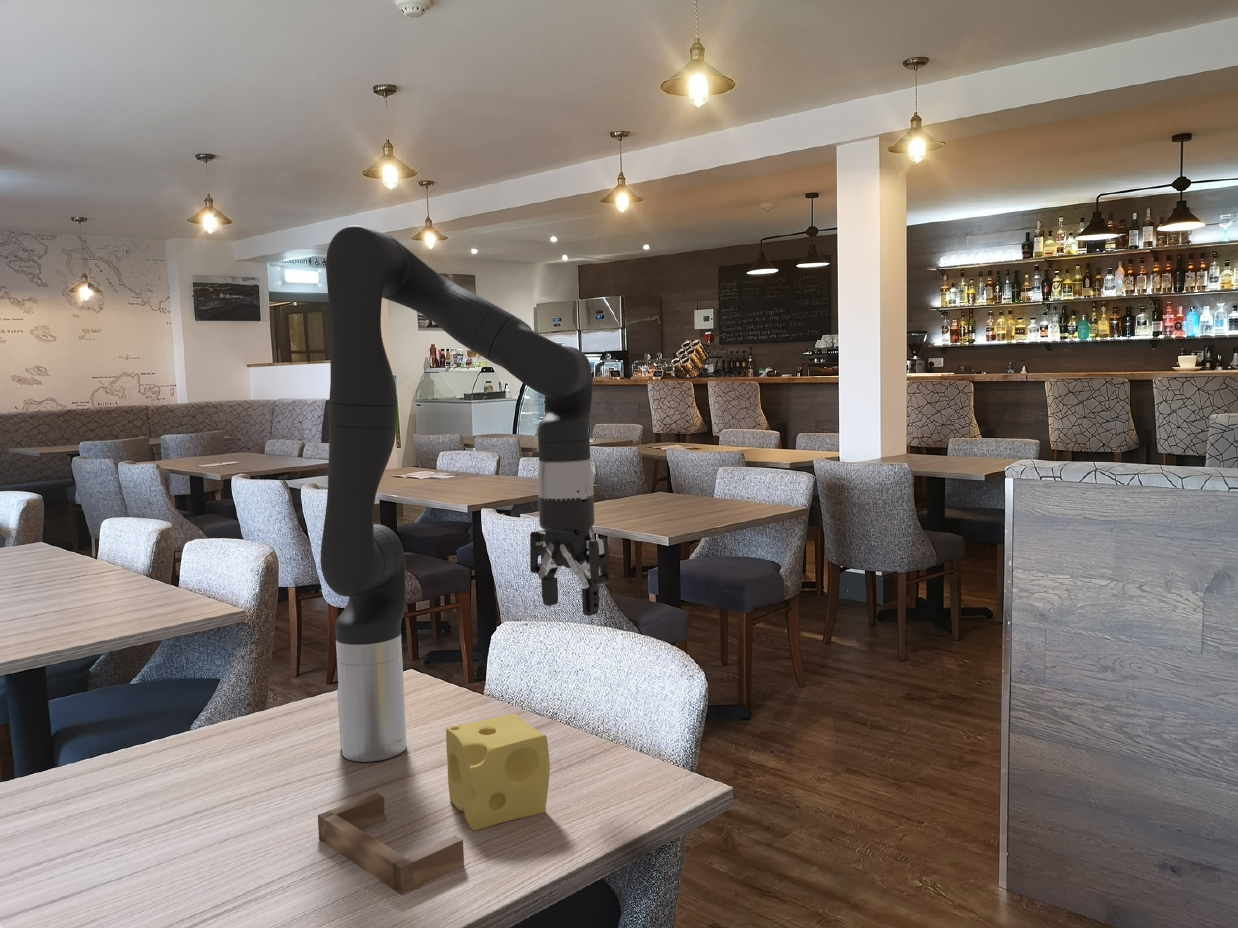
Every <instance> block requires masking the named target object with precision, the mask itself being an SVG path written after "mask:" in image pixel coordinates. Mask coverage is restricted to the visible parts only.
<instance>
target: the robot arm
mask: <svg viewBox="0 0 1238 928" xmlns="http://www.w3.org/2000/svg"><path fill="white" fill-rule="evenodd" d="M325 271H326V272H325V274H326V287H327V295H328V296H327V297H328V309H329V310H328V311H329V319H330V367H329V368H330V372H329V373H330V378H329V379H330V381H329V382H330V384H329V385H330V387H329V401H328V402H329V403H328V405H329V406H328V436H329V437H328V440H329V441H328V442H329V443H328V471H327V494H326V495H327V496H326V505H325V514H324V521H323V522H324V523H323V529H322V535H321V536H322V537H321V543H320V544H321V547H320V570H321V572H322V577H323V578H324V579H323V580H324V581H325V583H326V584H327V586H328V587H329V589H331V591H333V592H334V593H335V594H337V595H339V596H341V597H346V598H347V597H348V601H347V604H346V606H345V608H344V609H343V610H342V612H341V613H340V614H339V616H338V617H337V619H336V621H335V625H334V627H335V628H334V629H335V647H336V649H335V650H336V663H337V665H336V666H337V679H338V680H337V682H338V683H337V684H338V686H337V688H336V689H337V706H338V707H337V709H338V726H339V741H340V742H339V743H340V744H339V745H340V749H341V754H342V757H344V759H346V760H349V761H353V762H362V763H366V762H368V763H370V762H376V761H378V762H379V761H382V760H383V761H384V760H387V759H390V758H393V757H396V756H398V755H400V754H401V753H403V752H404V751H405V750H406V749H407V744H408V743H407V730H406V729H407V728H406V727H407V726H406V705H405V687H404V683H405V682H404V669H403V668H404V665H403V650H402V633H401V632H402V629H401V628H402V627H401V626H402V621H403V620H402V619H403V617H404V614H405V610H406V561H405V558H406V557H405V553H404V548H403V544H402V543H401V541H400V538H399V536H398V535H397V534H396V533H395V531H393V530H392V528H389V527H387V526H386V525H383V524H377V523H376V524H374V518H375V516H374V515H375V501H376V497H377V493H378V488H379V486H380V483H381V480H382V478H383V475H384V473H385V470H386V468H387V465H388V463H389V460H390V458H391V456H392V452H393V450H394V445H395V442H396V436H397V422H398V421H397V418H398V416H397V413H398V406H397V405H398V396H397V395H398V393H397V386H396V381H395V379H394V374H393V370H392V367H391V364H390V361H389V359H388V355H387V352H386V349H385V346H384V345H385V344H384V340H383V336H382V335H383V334H382V321H381V320H382V302H383V299H384V300H388V301H391V302H393V303H397V304H399V305H402V306H403V307H404V306H405V307H406V308H409V309H411V310H413V311H415V312H417V313H418V314H421V315H422V316H424V317H426V318H427V319H428V320H430V321H431V322H433V323H434V324H435V325H437V326H438V327H440V329H441V330H442V331H444V332H445V333H446V334H447V335H448V336H450V337H451V338H453V340H455V341H456V342H457V343H459V344H461V345H462V346H463V347H466V348H467V349H469V350H470V351H472V352H474V353H475V354H478V355H479V356H480V357H483V358H484V359H485V360H487V361H488V362H491V363H493V364H495V365H497V366H498V367H501V368H503V369H504V370H506V371H507V372H508V373H509V374H511V375H512V376H513V377H514V378H516V379H517V380H519V381H520V382H521V383H522V384H523V385H525V386H527V387H528V388H530V389H532V390H533V391H534V392H536V393H538V394H540V395H542V396H544V414H543V418H542V419H541V421H540V422H539V425H538V431H537V442H538V443H537V446H538V448H537V449H538V471H537V489H538V490H537V491H538V513H539V514H538V516H539V518H538V520H539V521H538V522H539V526H540V528H541V530H535V531H531V532H530V535H529V539H530V540H529V544H530V547H529V550H530V551H529V553H530V554H529V559H530V560H529V563H530V564H529V566H530V572H531V573H532V574H537V575H538V579H540V582H541V598H542V603H543V604H542V605H543V606H546V607H547V606H548V607H551V606H553V605H554V606H555V605H557V604H558V603H559V590H558V589H559V588H558V587H559V586H558V585H559V584H558V582H559V581H558V577H557V576H558V573H559V571H560V569H561V568H562V567H565V568H566V569H571V572H572V573H573V575H575V576H577V577H578V579H579V581H580V583H581V585H582V587H583V588H581V598H582V599H581V600H582V602H581V603H582V614H583V615H584V616H587V617H589V616H594V615H597V614H598V612H599V610H600V587H601V586H603V585H605V584H610V582H611V568H610V557H609V556H610V555H609V554H610V553H609V543H608V540H607V539H606V538H599V539H592V537H591V533H590V530H591V528H592V527H593V526H594V525H595V501H594V500H595V499H594V497H595V496H594V495H595V494H594V475H593V470H592V463H591V461H592V460H591V441H590V430H589V429H590V428H589V426H590V424H589V422H590V417H591V408H592V400H593V399H592V398H593V384H594V383H593V382H594V381H593V371H592V365H591V362H590V360H589V359H588V356H586V354H585V353H584V352H583V351H581V350H580V349H579V348H576V347H572V346H564V345H561V344H559V343H557V342H555V341H553V340H551V339H548V337H545V336H544V335H542V334H540V333H538V332H536V331H535V330H533V329H532V328H531V326H530V325H529V324H527V323H526V322H525V321H523V320H522V319H521V318H519V317H517V316H515V315H514V314H512V313H510V312H508V311H507V310H505V309H503V308H501V307H500V306H498V305H496V304H495V303H492V302H490V301H488V300H487V299H485V298H483V297H482V296H479V295H477V294H475V293H474V292H471V291H470V290H467V289H466V288H463V287H462V286H460V285H458V284H456V283H454V282H453V281H452V280H450V279H448V278H446V276H444V275H442V274H441V273H439V272H438V271H436V270H435V269H433V268H432V267H430V266H429V265H428V264H427V263H425V262H424V261H423V260H422V259H420V258H419V257H418V256H417V255H415V254H414V253H413V252H412V251H411V250H410V249H408V248H407V247H406V246H405V245H403V244H402V243H401V242H400V241H398V239H396V238H395V237H394V236H392V235H390V234H388V233H387V232H383V231H379V230H376V229H373V228H369V227H366V226H361V225H349V226H345V227H343V228H342V229H340V230H339V231H337V233H335V235H334V236H333V237H332V239H331V240H330V243H328V248H327V250H326V258H325ZM539 557H540V562H539ZM600 570H601V574H600V572H599V571H600ZM587 574H588V575H589V577H590V578H589V577H588V575H587Z"/></svg>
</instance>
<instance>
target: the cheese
mask: <svg viewBox="0 0 1238 928" xmlns="http://www.w3.org/2000/svg"><path fill="white" fill-rule="evenodd" d="M445 731H446V732H445V733H446V734H445V736H446V739H445V740H446V742H445V744H446V758H447V759H446V761H447V762H446V763H447V783H448V795H449V800H450V801H451V802H452V804H453V805H454V806H455V808H457V809H458V811H459V812H462V813H464V817H465V818H464V819H465V821H466V822H467V824H468V825H469V828H470V829H471V830H472V832H475V831H480V830H483V829H486V828H489V827H492V826H495V825H498V824H502V823H507V822H510V821H515V820H518V819H523V818H527V817H532V816H536V815H537V816H538V815H540V814H544V813H546V812H547V800H548V792H549V784H550V764H551V763H550V751H549V743H548V738H547V735H546V734H544V733H543V732H541V731H539V730H538V729H536V728H534V727H533V726H531V725H530V724H529V723H527V722H526V721H524V720H523V719H522V718H521V717H520V716H519V715H518V714H517V713H511V714H505V715H501V716H497V717H494V718H490V719H489V718H488V719H484V720H480V721H475V722H469V723H465V724H460V725H459V724H458V725H453V726H447V727H446V730H445Z"/></svg>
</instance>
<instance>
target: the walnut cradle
mask: <svg viewBox="0 0 1238 928" xmlns="http://www.w3.org/2000/svg"><path fill="white" fill-rule="evenodd" d="M384 796H385V795H383V794H381V793H379V792H375V793H372V794H370V795H369V794H368V795H367V796H364V797H362V798H359V799H356V800H354V801H351V802H348V803H345V804H343V805H340V806H338V807H335V808H332V809H330V810H327V811H325V812H322V813H320V814H317V828H318V840H320V841H321V842H323V844H326V845H327V846H329V848H331V849H333V850H334V851H336V852H338V854H340V855H342V856H343V857H345V859H348V860H349V861H351V862H352V863H353V864H355V865H357V866H358V867H360V868H361V869H362V870H364V871H366V872H367V873H369V874H370V875H372V876H373V877H374V878H376V879H378V880H379V881H380V882H382V883H383V884H385V885H387V886H388V887H389V888H391V889H392V890H394V891H395V892H397V893H398V894H400V895H401V896H403V895H405V894H406V893H409V892H411V891H413V890H416V889H418V888H419V887H423V886H424V885H426V884H429V883H430V882H432V881H435V880H436V879H438V878H440V877H443V876H445V875H447V874H448V873H449V874H450V873H452V872H454V871H456V870H457V869H460V868H461V867H464V866H465V854H464V839H463V838H461V837H459V836H457V835H452V836H450V837H448V838H445V839H443V840H442V841H439V842H437V843H434V844H432V845H429V846H428V847H425V848H423V849H421V850H418V851H416V852H414V853H412V854H410V855H407V856H403V855H402V854H401V853H398V852H397V851H395V850H393V848H390V847H389V846H387V845H386V844H384V843H382V842H381V841H379V840H378V839H376V838H374V837H373V836H371V835H370V834H368V833H366V832H364V831H363V829H365V828H368V827H369V826H372V825H374V824H377V823H379V822H382V821H384V820H385V819H386V818H385V817H386V815H385V813H386V812H385V811H386V810H385V797H384Z"/></svg>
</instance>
